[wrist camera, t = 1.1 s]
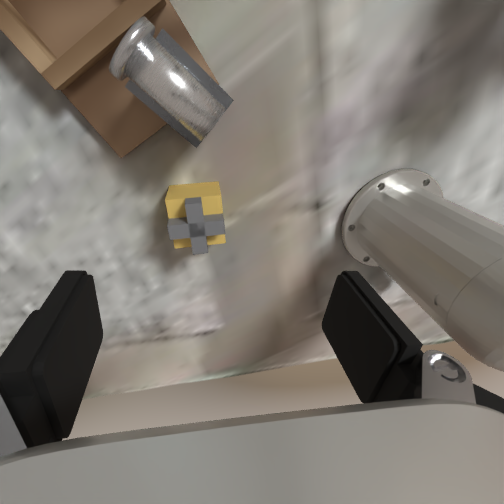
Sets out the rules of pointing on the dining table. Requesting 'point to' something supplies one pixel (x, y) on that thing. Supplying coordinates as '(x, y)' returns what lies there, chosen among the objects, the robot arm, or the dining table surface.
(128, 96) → the bed
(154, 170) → the dining table surface
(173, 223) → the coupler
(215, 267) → the dining table surface
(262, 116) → the dining table surface
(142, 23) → the shaft
